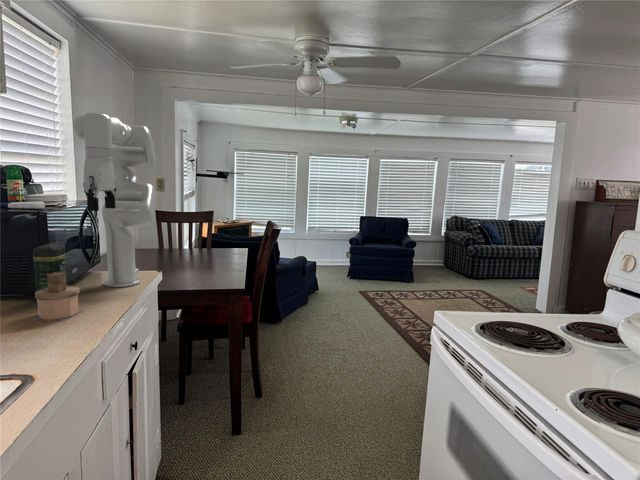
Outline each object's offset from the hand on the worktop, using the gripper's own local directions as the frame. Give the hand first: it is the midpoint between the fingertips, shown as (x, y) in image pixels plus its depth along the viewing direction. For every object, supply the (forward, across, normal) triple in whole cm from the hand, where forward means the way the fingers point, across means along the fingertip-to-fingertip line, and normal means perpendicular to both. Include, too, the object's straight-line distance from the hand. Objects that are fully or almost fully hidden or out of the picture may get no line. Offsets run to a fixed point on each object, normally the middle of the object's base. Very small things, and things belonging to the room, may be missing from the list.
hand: (102, 209), depth 127 cm
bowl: (+30, +15, -6) cm, 34 cm away
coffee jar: (+31, 0, -18) cm, 35 cm away
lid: (+24, +15, -6) cm, 29 cm away
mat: (+30, +15, -6) cm, 34 cm away
